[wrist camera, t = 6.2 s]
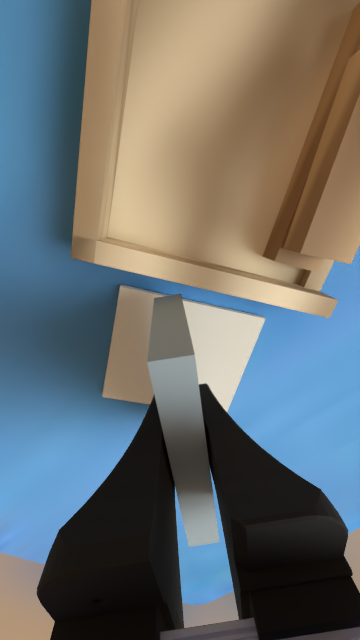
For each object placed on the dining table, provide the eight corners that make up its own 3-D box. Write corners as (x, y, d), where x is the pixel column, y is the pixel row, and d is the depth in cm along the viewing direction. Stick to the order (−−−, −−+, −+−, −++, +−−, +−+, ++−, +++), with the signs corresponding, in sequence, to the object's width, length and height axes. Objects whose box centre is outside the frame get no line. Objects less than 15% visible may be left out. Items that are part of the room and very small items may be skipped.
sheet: (180, 293, 13) (194, 354, 7) (200, 433, 16) (219, 541, 11) (154, 297, 13) (146, 362, 7) (180, 436, 17) (189, 546, 11)
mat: (263, 316, 15) (265, 318, 15) (224, 412, 18) (225, 416, 18) (121, 284, 14) (120, 286, 14) (103, 393, 17) (102, 397, 17)
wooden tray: (443, -11, 10) (539, -88, 8) (301, 301, 15) (329, 318, 13) (133, -166, 8) (119, -343, 6) (88, 250, 13) (70, 257, 11)
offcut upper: (403, 77, 9) (447, 51, 8) (327, 258, 12) (350, 264, 11) (348, 59, 9) (383, 28, 8) (283, 249, 12) (300, 253, 10)
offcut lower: (403, 31, 10) (444, -1, 9) (301, 266, 14) (317, 272, 12) (353, 9, 10) (387, -29, 8) (262, 256, 13) (274, 261, 12)
